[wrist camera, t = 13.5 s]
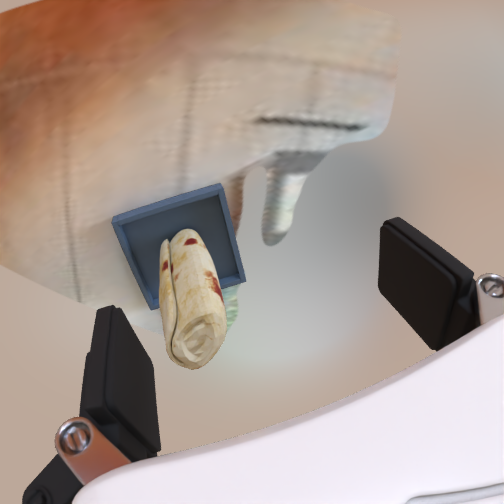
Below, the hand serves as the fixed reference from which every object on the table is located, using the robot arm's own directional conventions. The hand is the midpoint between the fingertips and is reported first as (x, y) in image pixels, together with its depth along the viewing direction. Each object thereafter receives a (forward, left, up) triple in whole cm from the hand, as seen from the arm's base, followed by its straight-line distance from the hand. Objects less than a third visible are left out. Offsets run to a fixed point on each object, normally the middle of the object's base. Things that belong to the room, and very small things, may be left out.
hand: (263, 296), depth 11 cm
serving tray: (-5, -15, -34) cm, 38 cm away
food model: (-5, -15, -34) cm, 38 cm away
